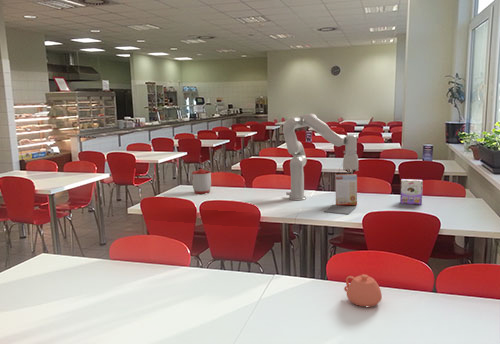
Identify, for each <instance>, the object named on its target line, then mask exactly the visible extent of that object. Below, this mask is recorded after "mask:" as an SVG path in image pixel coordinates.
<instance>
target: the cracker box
mask: <svg viewBox="0 0 500 344" xmlns="http://www.w3.org/2000/svg"><path fill="white" fill-rule="evenodd" d="M334 180H335V205H339V206H357V205H358V174H356V173H353V174H348V173H346V174H345V173H343V174H341V173H340V174H335V179H334Z"/></svg>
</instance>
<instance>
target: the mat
mask: <svg viewBox="0 0 500 344" xmlns="http://www.w3.org/2000/svg"><path fill="white" fill-rule="evenodd" d="M356 208H357V207H355V206H350V205H336V204H332V205H331V206H329V207H328V208H326V209H325V210H324V211H323V212H324V213H330V214H331V213H332V214H341V215H350V214H351V213H352V212H354V210H356Z"/></svg>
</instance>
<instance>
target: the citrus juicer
mask: <svg viewBox="0 0 500 344" xmlns="http://www.w3.org/2000/svg"><path fill="white" fill-rule="evenodd" d="M189 180H191V181H192V188H193V191H194V193H195V194H197V195H199V194H200V195H204V194H205V193H207V194H208V193H210V191H211V187H212V171H211V170H206V169H205V170H204V169H203V168H200V169H198V170H195V171H192V172H191V176H190V177H189Z"/></svg>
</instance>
